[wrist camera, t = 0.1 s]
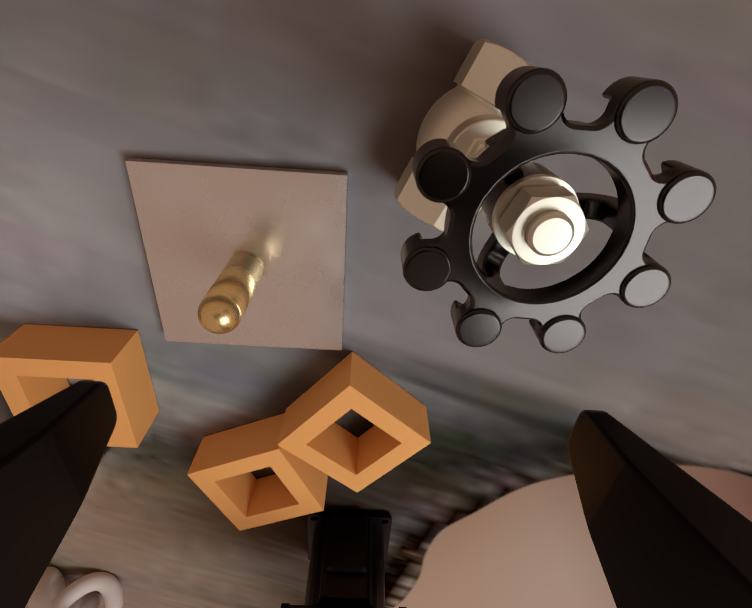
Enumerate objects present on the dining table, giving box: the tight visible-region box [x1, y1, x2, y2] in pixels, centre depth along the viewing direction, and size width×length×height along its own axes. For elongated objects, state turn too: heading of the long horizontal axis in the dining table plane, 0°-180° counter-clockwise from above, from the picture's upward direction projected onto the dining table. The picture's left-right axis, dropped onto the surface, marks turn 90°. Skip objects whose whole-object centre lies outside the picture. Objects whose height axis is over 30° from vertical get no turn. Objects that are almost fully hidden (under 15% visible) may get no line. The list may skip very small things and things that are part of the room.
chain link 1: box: [187, 413, 328, 531], centre depth 29 cm, size 6×6×3 cm
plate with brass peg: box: [125, 158, 348, 350], centre depth 20 cm, size 10×10×6 cm
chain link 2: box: [277, 351, 431, 492], centre depth 27 cm, size 6×6×3 cm
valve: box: [395, 38, 716, 353], centre depth 14 cm, size 7×7×12 cm
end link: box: [0, 324, 159, 448], centre depth 25 cm, size 6×6×3 cm
